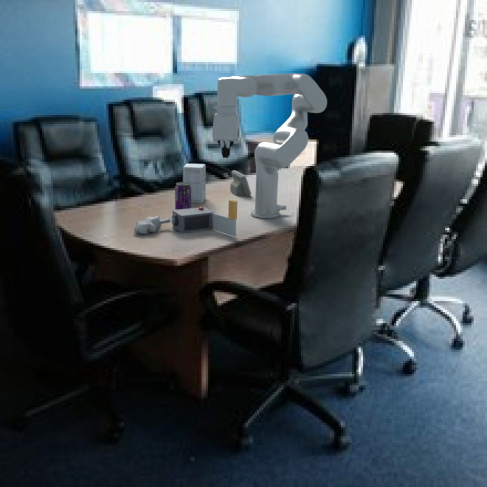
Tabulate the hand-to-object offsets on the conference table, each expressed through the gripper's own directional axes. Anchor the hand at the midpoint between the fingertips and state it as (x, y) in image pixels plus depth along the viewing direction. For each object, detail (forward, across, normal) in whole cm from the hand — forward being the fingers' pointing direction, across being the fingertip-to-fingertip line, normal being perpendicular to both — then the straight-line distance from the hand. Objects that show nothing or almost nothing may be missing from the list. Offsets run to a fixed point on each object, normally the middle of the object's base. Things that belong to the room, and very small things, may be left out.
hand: (225, 157), depth 230 cm
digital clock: (+27, -10, +54) cm, 62 cm away
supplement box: (+27, -26, +31) cm, 49 cm away
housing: (+27, -9, -12) cm, 31 cm away
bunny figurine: (+28, -23, -21) cm, 42 cm away
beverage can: (+27, -23, +12) cm, 38 cm away
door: (+27, +4, -15) cm, 31 cm away
